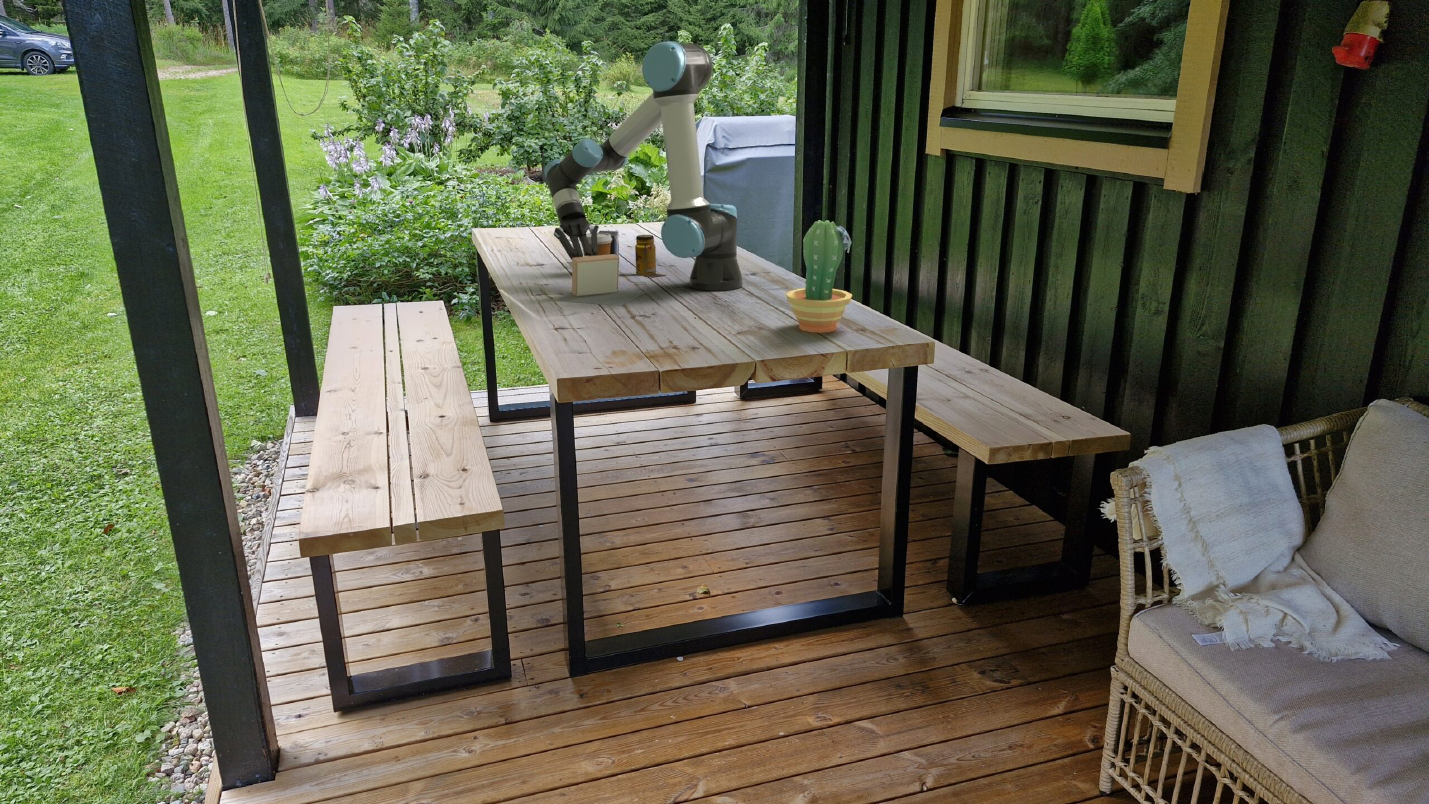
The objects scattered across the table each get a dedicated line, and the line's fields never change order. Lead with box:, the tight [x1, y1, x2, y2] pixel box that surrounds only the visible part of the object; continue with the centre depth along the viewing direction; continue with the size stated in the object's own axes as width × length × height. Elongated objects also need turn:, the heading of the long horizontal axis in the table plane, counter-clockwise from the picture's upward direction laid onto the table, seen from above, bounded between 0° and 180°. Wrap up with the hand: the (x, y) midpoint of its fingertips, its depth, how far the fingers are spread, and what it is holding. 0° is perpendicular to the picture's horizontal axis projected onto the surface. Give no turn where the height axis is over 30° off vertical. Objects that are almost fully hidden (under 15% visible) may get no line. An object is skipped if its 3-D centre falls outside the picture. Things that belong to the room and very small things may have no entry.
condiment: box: [633, 234, 666, 279], centre depth 276 cm, size 7×8×12 cm
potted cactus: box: [785, 219, 853, 334], centre depth 214 cm, size 15×15×25 cm
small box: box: [597, 230, 620, 258], centre depth 290 cm, size 11×6×10 cm, turn 179°
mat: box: [554, 289, 647, 307], centre depth 247 cm, size 19×17×1 cm
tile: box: [571, 254, 620, 297], centre depth 248 cm, size 3×12×10 cm, turn 116°
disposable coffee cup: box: [582, 232, 612, 257], centre depth 276 cm, size 10×10×12 cm
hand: (591, 278), depth 251 cm, fingers closed
